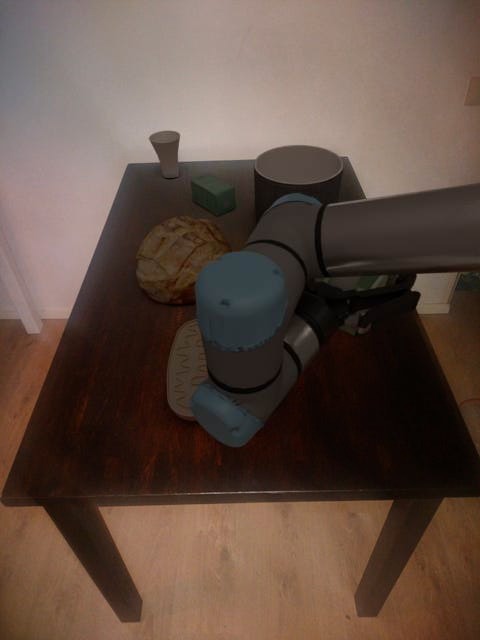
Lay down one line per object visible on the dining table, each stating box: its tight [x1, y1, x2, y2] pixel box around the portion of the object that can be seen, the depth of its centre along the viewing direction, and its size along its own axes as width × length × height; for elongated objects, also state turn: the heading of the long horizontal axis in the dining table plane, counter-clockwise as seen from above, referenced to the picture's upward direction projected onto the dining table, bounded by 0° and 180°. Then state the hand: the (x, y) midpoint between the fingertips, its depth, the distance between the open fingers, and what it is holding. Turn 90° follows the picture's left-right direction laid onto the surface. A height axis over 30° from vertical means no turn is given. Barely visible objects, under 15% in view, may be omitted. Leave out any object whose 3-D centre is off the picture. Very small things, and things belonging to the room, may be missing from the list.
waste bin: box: [315, 275, 389, 336], centre depth 86 cm, size 15×15×9 cm
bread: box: [134, 214, 232, 305], centre depth 94 cm, size 25×27×15 cm
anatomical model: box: [166, 318, 208, 422], centre depth 74 cm, size 23×10×5 cm, turn 0°
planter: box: [253, 144, 345, 227], centre depth 102 cm, size 22×22×20 cm
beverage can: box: [328, 276, 360, 291], centre depth 84 cm, size 6×6×12 cm
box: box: [190, 172, 236, 217], centre depth 119 cm, size 7×14×8 cm, turn 41°
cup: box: [148, 130, 181, 174], centre depth 133 cm, size 10×10×14 cm
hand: (369, 246), depth 58 cm, fingers open, 13 cm apart
